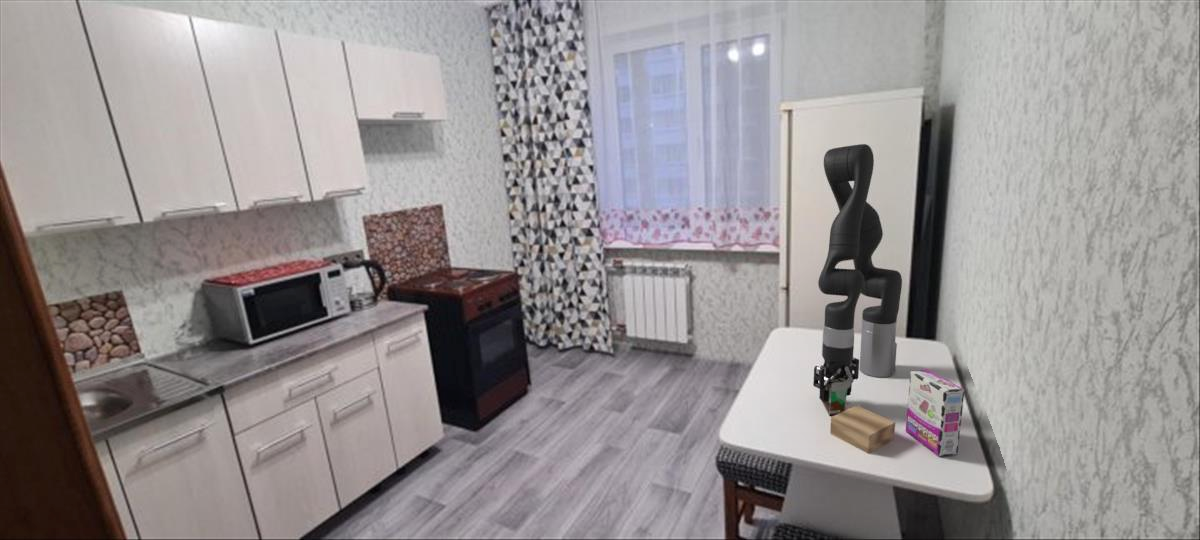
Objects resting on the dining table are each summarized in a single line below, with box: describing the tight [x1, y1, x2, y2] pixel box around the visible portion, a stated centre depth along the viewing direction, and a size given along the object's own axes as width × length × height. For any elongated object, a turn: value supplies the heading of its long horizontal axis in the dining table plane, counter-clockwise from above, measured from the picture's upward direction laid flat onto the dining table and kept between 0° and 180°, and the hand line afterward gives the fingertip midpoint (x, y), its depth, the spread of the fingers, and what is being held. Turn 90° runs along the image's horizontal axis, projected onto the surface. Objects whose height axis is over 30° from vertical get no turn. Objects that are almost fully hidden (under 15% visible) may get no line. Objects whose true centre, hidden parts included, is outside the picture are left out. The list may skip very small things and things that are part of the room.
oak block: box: [829, 404, 896, 454], centre depth 120 cm, size 10×10×5 cm
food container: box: [820, 365, 851, 417], centre depth 133 cm, size 12×6×10 cm, turn 170°
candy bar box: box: [905, 369, 966, 458], centre depth 114 cm, size 11×5×16 cm, turn 5°
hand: (835, 397), depth 133 cm, fingers closed on food container, 7 cm apart
